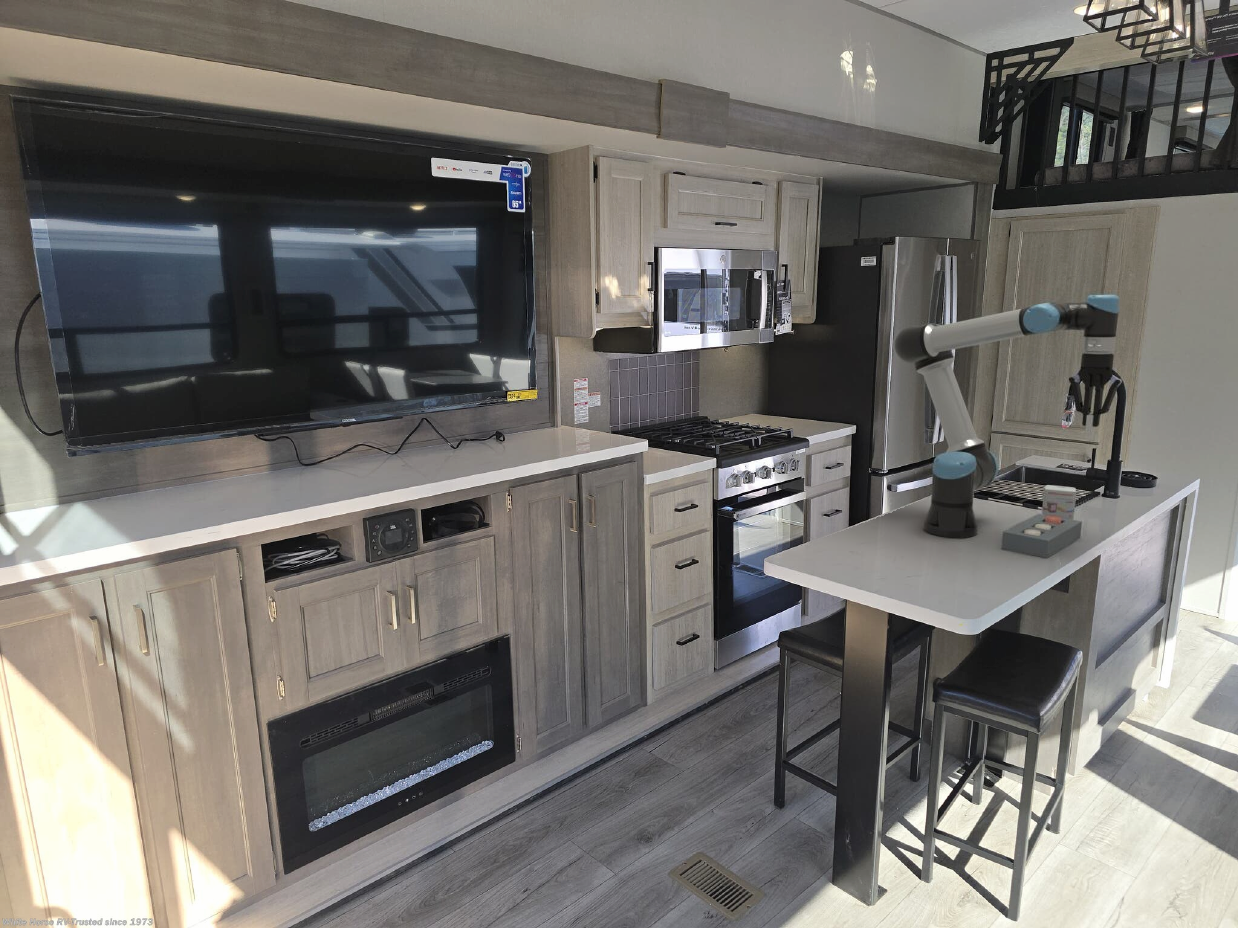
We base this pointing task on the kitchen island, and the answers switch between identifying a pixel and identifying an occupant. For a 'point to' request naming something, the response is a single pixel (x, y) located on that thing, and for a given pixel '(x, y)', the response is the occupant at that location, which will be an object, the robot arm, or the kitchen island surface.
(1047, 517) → the red egg
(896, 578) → the kitchen island surface
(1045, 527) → the cream egg
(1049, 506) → the ink box
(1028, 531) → the ivory egg
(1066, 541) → the grey socket block
